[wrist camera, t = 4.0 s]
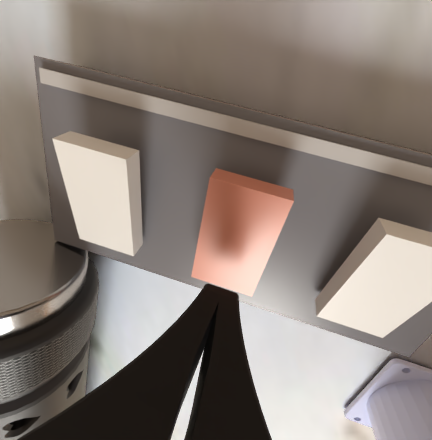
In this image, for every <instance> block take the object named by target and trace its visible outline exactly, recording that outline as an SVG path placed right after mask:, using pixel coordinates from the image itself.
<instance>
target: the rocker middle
mask: <svg viewBox="0 0 432 440" xmlns="http://www.w3.org/2000/svg"><path fill="white" fill-rule="evenodd" d="M293 202H294V194H293V189H289V188H286V187H282V186H279V185H275V184H271V183H268V182H264V181H261V180H257V179H254V178H250V177H246V176H243V175H239V174H236V173H232V172H229V171H225V170H221V169H218V168H216V169H215V171H214V172H213V173H212V175H211V176H210V179H209V184H208V190H207V195H206V200H205V206H204V211H203V216H202V222H201V227H200V232H199V238H198V243H197V248H196V254H195V259H194V264H193V269H192V275H191V277H193V278H196V279H199V280H202V281H205V282H208V283H212V284H215V285H218V286H221V287H224V288H227V289H230V290H233V291H236V292H239V293H242V294H245V295H248V296H251V297H252V296H253V293H254V291H255V289H256V287H257V284H258V282H259V280H260V277H261V275H262V273H263V271H264V268H265V266H266V264H267V261H268V259H269V257H270V255H271V252H272V250H273V248H274V246H275V243H276V241H277V239H278V236H279V234H280V232H281V230H282V227H283V225H284V223H285V220H286V218H287V216H288V214H289V211H290V209H291V207H292V205H293Z"/></svg>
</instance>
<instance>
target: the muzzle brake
mask: <svg viewBox="0 0 432 440" xmlns="http://www.w3.org/2000/svg"><path fill="white" fill-rule="evenodd" d="M98 287H99V280H98V273H97V270H96V268H95V266H94V264H93V262H92V261H91V260H90V258H89V257H88V251H87V250H83V249H80V248H77V247H74V246H71V245H68V244H65V243H62V242H59V241H56V240H55V239H54V230H53V223H50V222H44V221H37V220H23V219H11V220H0V440H17V439H19V438H20V437H22V436H23V435H25V434H27V433H28V432H30V431H32V430H33V429H35V428H36V427H38V426H40V425H41V424H43V423H44V422H46V421H48V420H49V419H51V418H53V417H54V416H56V415H57V414H59V413H60V412H62V411H64V410H65V409H67V408H68V407H70V406H71V405H73V404H74V403H75V402H77V401H78V400H80V399H81V398H83V397H84V396H85V392H86V380H87V367H88V355H89V343H90V334H91V331H92V329H93V327H94V323H95V317H96V309H97V298H98Z"/></svg>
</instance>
